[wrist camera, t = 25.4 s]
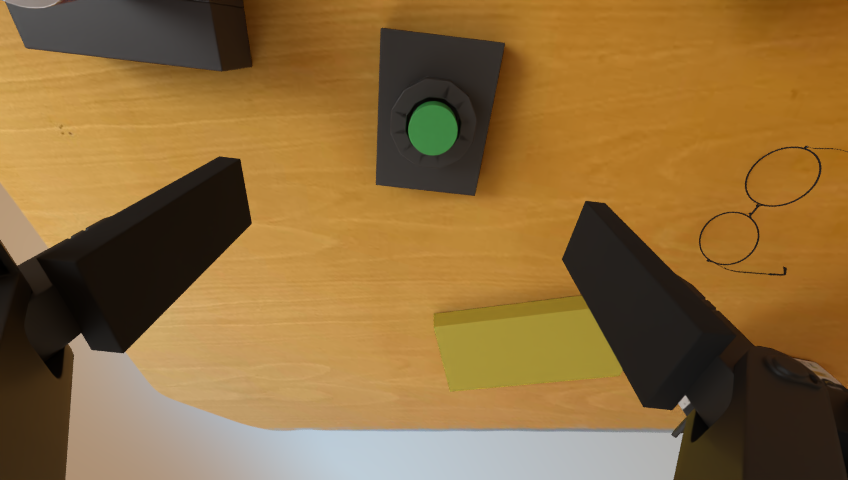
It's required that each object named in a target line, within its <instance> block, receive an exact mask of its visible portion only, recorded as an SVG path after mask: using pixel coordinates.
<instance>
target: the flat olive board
mask: <svg viewBox="0 0 848 480" xmlns="http://www.w3.org/2000/svg"><path fill="white" fill-rule="evenodd" d="M434 331H435V335H436V338H437V342H438V346H439V350H440V354H441V358H442V362H443V366H444V370H445V374H446V378H447V382H448V386H449V390H450V392H452V391H463V390H474V389H485V388H495V387H506V386H517V385H528V384H539V383H549V382H560V381H571V380H582V379H593V378H604V377H614V376H620V375H621V373H622V370H623V369H622V367H621V366H620V364H619V362H618V360H617V358H616V356H615V355H614V353H613V351H612V349H611V347H610V346H609V344H608V342H607V340H606V338H605V337H604V335H603V333H602V331H601V329H600V328H599V326H598V324H597V322H596V320H595V318H594V317H593V315H592V313H591V311H590V309H589V308H588V306H587V304H586V302H585V300H584V299H583V297H582V295H581V296H573V297H565V298H557V299H549V300H541V301H533V302H525V303H517V304H509V305H501V306H493V307H485V308H477V309H469V310H461V311H452V312H444V313H436V314H434Z"/></svg>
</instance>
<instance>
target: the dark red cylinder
mask: <svg viewBox="0 0 848 480" xmlns="http://www.w3.org/2000/svg"><path fill="white" fill-rule="evenodd" d="M2 1H5V2H7V3H10V4H13V5H17V6H21V7H26V8H46V7H50V6H55V5H59V4H64V3H68V2H73V1H77V0H2Z"/></svg>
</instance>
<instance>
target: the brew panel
mask: <svg viewBox="0 0 848 480" xmlns="http://www.w3.org/2000/svg"><path fill="white" fill-rule="evenodd" d="M504 47H505V43H502V42H494V41H486V40H478V39H469V38H461V37H453V36H445V35H437V34H429V33H420V32H412V31H404V30H396V29H388V28H381V38H380V69H379V101H378V132H377V164H376V185H382V186H391V187H400V188H409V189H418V190H427V191H436V192H445V193H454V194H463V195H472V196H475V193H476V188H477V183H478V178H479V173H480V167H481V162H482V157H483V152H484V147H485V142H486V137H487V132H488V127H489V122H490V117H491V112H492V107H493V102H494V97H495V92H496V87H497V82H498V77H499V72H500V67H501V62H502V57H503V52H504ZM429 101H438V102H441V103H444V104H446V105H447V106H448V107H449V108H450V109H451V110H452V111H453V113H454V115H455V118H456V121H457V126H458V134H457V138H456V141H455V142H454V144H453V146H452V147H451V148H450V149H449V150H448V151H446V152H444V153H442V154H440V155H426V154H423V153H421V152H420V151H418V150H417V149H416V148H415V147H414V146H413V144H412V143H411V141H410V138H409V134H408V127H409V122H410V119H411V116H412V114H413V112H414V111H415V110H416V108H417V107H418V106H420V105H421V104H423V103H425V102H429Z"/></svg>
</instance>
